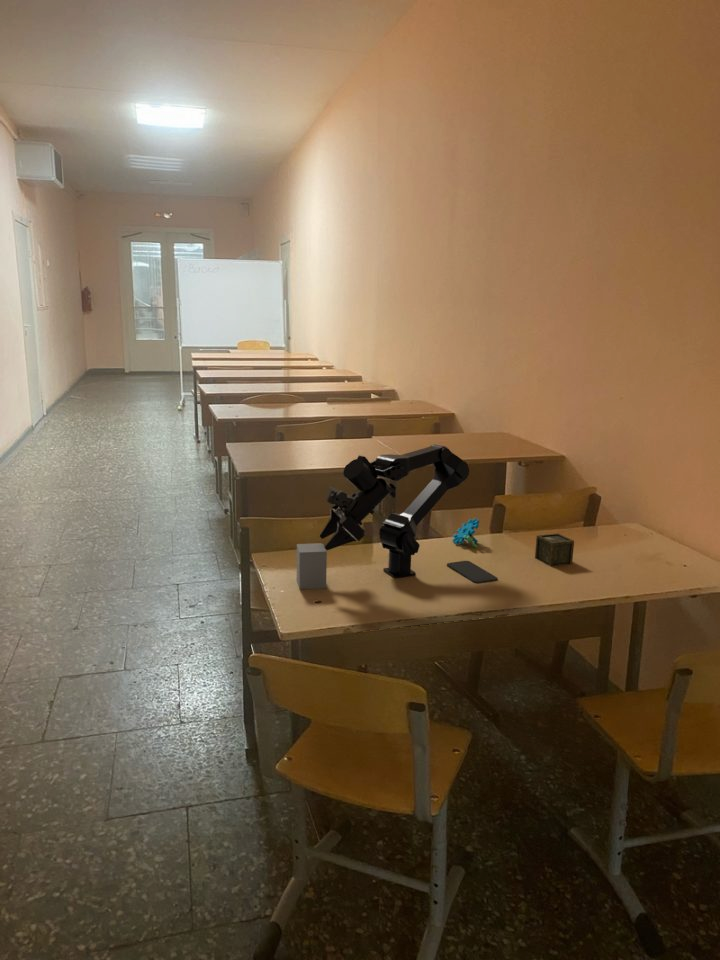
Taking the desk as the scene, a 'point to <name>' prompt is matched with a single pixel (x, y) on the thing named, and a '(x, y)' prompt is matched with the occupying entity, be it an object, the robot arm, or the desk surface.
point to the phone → (472, 572)
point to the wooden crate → (554, 549)
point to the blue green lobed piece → (467, 532)
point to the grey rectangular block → (311, 566)
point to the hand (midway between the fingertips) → (323, 543)
